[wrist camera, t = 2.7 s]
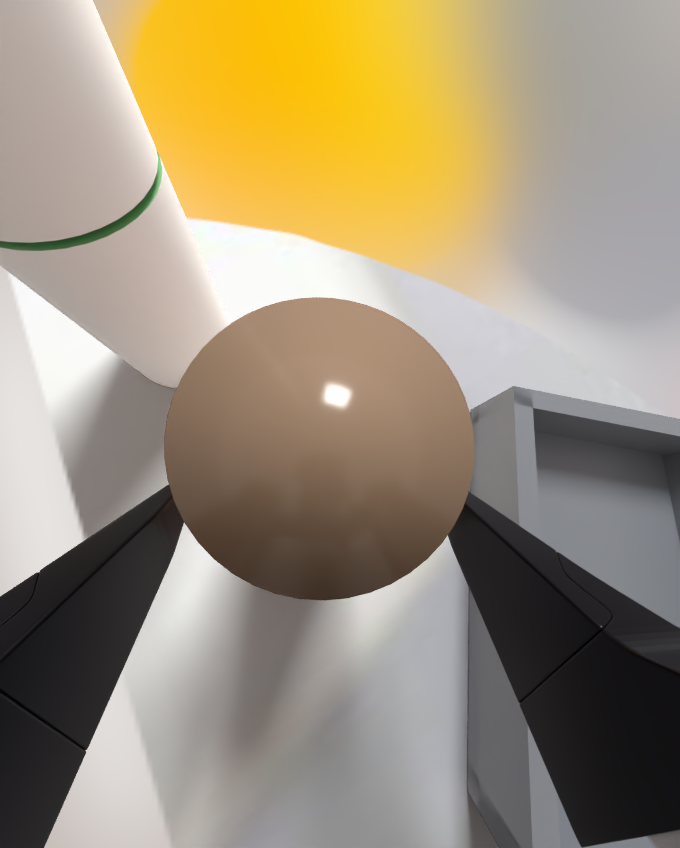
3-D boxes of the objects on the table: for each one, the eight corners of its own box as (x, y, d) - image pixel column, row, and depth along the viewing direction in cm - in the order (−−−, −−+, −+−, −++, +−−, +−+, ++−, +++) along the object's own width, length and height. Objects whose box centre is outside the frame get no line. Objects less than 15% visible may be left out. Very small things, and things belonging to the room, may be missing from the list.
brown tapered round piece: (354, 535, 17) (473, 622, 5) (255, 519, 17) (109, 573, 4) (366, 439, 19) (475, 327, 7) (277, 423, 19) (217, 272, 6)
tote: (730, 813, 15) (892, 933, 11) (467, 790, 14) (535, 913, 10) (656, 445, 22) (742, 431, 18) (470, 409, 21) (513, 386, 16)
